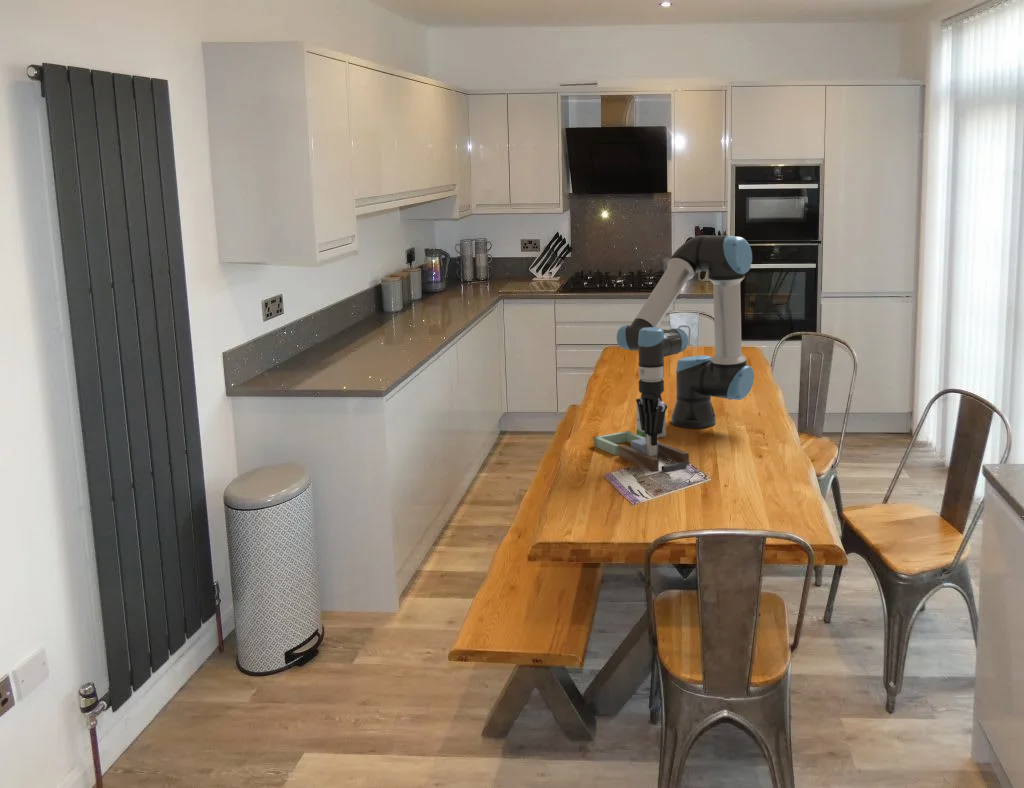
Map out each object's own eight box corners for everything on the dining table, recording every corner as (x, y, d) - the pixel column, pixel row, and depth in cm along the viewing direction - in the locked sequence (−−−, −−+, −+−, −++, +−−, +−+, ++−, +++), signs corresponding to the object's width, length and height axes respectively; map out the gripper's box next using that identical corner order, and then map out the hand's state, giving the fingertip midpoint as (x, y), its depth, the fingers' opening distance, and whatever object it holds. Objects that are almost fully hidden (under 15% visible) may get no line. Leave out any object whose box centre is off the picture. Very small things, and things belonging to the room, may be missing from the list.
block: (646, 453, 316) (646, 437, 315) (658, 457, 311) (658, 442, 309) (630, 456, 313) (630, 440, 312) (642, 460, 308) (642, 445, 307)
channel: (653, 450, 318) (653, 439, 318) (688, 464, 303) (688, 453, 302) (619, 456, 313) (619, 446, 312) (653, 471, 297) (653, 460, 296)
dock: (627, 439, 331) (627, 430, 330) (650, 448, 320) (650, 439, 319) (594, 446, 325) (594, 437, 325) (615, 455, 314) (615, 446, 314)
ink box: (659, 433, 337) (659, 399, 335) (666, 437, 333) (666, 402, 330) (636, 436, 335) (635, 401, 333) (642, 439, 330) (641, 404, 328)
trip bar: (683, 466, 301) (683, 461, 301) (686, 467, 300) (686, 462, 299) (661, 470, 297) (661, 466, 297) (664, 472, 296) (664, 467, 296)
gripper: (628, 377, 307) (629, 451, 312) (653, 384, 296) (654, 461, 301) (648, 374, 310) (649, 447, 316) (674, 381, 299) (674, 457, 304)
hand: (651, 454), depth 308 cm, fingers closed
